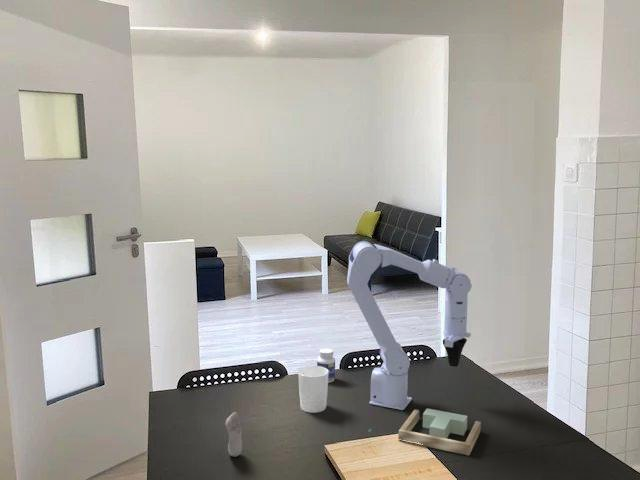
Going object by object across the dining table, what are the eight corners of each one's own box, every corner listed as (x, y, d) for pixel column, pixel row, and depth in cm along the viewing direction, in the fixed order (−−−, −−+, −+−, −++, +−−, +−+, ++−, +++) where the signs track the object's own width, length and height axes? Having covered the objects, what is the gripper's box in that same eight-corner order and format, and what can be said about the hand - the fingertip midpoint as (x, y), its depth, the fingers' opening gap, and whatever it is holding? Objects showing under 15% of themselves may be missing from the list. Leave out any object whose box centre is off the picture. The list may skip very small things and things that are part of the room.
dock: (398, 440, 143) (398, 430, 143) (414, 418, 155) (414, 409, 155) (469, 455, 136) (469, 445, 136) (480, 431, 148) (480, 421, 148)
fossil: (227, 448, 139) (226, 406, 138) (242, 448, 139) (242, 406, 138) (225, 461, 133) (224, 418, 132) (241, 461, 134) (241, 417, 132)
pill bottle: (330, 384, 177) (330, 354, 176) (314, 381, 179) (314, 352, 178) (337, 378, 182) (338, 349, 180) (321, 375, 184) (321, 346, 182)
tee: (415, 437, 145) (415, 423, 144) (426, 421, 153) (426, 408, 153) (458, 446, 141) (458, 432, 140) (466, 429, 149) (467, 415, 149)
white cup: (325, 415, 157) (325, 377, 155) (295, 412, 158) (294, 375, 157) (330, 402, 164) (331, 366, 163) (302, 400, 166) (302, 364, 164)
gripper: (465, 325, 154) (463, 377, 156) (476, 311, 167) (474, 359, 169) (437, 321, 157) (435, 372, 159) (450, 308, 170) (448, 355, 172)
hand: (453, 365), depth 164 cm, fingers closed
